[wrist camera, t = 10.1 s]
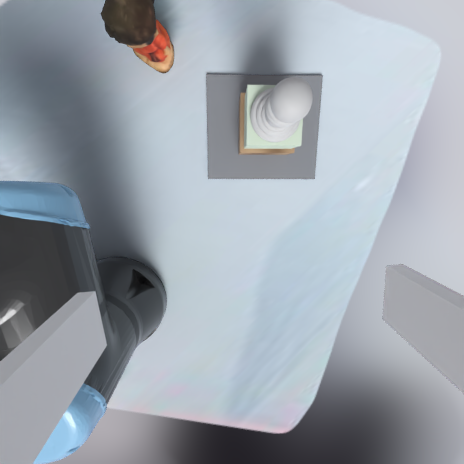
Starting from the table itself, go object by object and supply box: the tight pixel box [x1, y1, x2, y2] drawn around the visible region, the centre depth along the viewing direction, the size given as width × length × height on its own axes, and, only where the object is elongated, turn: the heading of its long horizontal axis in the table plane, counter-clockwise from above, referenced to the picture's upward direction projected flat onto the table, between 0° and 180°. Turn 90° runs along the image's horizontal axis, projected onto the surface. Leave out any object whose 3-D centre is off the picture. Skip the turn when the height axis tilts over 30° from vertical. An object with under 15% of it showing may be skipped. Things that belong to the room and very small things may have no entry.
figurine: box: [101, 0, 174, 73], centre depth 30 cm, size 6×6×12 cm
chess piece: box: [250, 77, 313, 142], centre depth 24 cm, size 5×5×9 cm
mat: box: [206, 74, 323, 179], centre depth 38 cm, size 16×14×1 cm
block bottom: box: [239, 93, 295, 155], centre depth 35 cm, size 7×7×5 cm
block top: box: [244, 85, 303, 149], centre depth 30 cm, size 6×6×5 cm
